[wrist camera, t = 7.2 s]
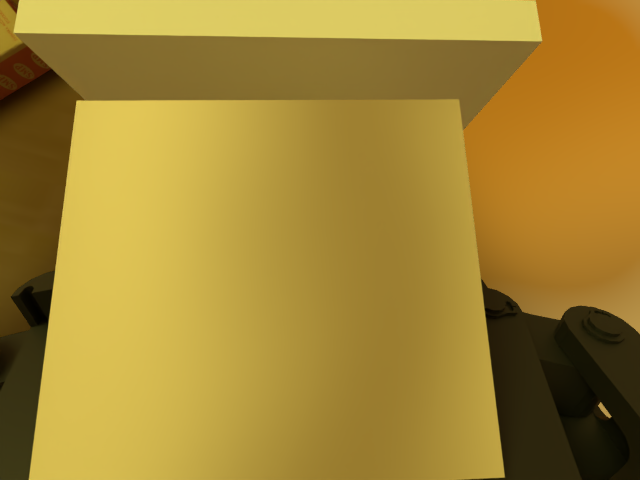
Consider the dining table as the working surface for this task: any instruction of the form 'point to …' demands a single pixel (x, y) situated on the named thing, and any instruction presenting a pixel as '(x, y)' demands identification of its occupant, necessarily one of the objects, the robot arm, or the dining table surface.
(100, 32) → the l-shaped bookend
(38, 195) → the dining table surface
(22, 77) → the carton
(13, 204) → the dining table surface
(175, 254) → the maple block
